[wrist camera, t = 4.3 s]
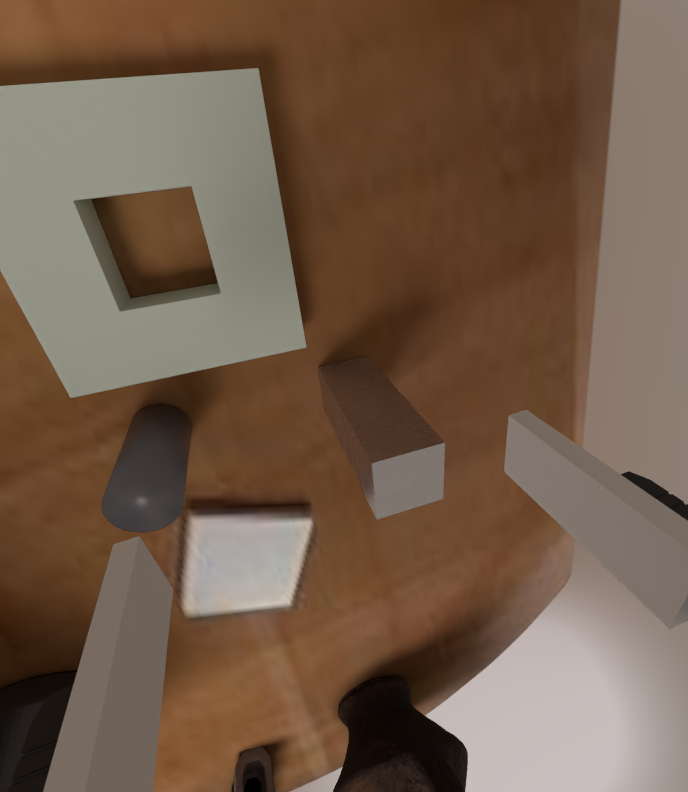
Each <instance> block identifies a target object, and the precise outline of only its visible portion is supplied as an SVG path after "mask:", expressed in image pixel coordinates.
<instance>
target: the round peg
mask: <svg viewBox="0 0 688 792" xmlns="http://www.w3.org/2000/svg"><path fill="white" fill-rule="evenodd" d="M190 438H191V422H190V420H189V418H188V416H187V415H186V414H185V413H184V412H183V411H182V410H180V409H179V408H177V407H175V406H172V405H168V404H153V405H149V406H146V407H144V408H142V409H141V410H139V411H138V412H137V413H136V414H135V415H134V417H133V419H132V421H131V424H130V427H129V429H128V432H127V435H126V437H125V440H124V443H123V445H122V448H121V451H120V453H119V456H118V459H117V462H116V464H115V467H114V470H113V472H112V475H111V478H110V480H109V483H108V486H107V488H106V491H105V494H104V497H103V500H102V511H103V514H104V516H105V517H106V519H107V520H108V521H109V522H110V523H112V524H113V525H115V526H116V527H118V528H121V529H123V530H126V531H131V532H150V531H155V530H159V529H161V528H164V527H166V526H168V525H169V524H171V523H172V522H174V521H175V520H176V519H177V517H178V516H179V515H180V513H181V511H182V508H183V502H184V493H185V484H186V474H187V465H188V456H189V447H190Z"/></svg>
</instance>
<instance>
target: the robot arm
mask: <svg viewBox="0 0 688 792" xmlns="http://www.w3.org/2000/svg"><path fill="white" fill-rule="evenodd" d="M504 472H505V473H506V474H507V475H508V476H509V477H511V478H512V479H513V480H514V481H515V482H516V483H517V484H518V485H519V486H520V487H521V488H522V489H523V490H524V491H525V492H526V493H527V494H528V495H529V496H530V497H531V498H533V499H534V500H535V501H536V502H537V503H538V504H539V505H540V506H541V507H542V508H543V509H544V510H545V511H546V512H547V513H548V514H549V515H550V516H551V517H552V518H553V519H555V520H556V521H557V522H558V523H559V524H560V525H561V526H562V527H563V528H564V529H565V530H566V531H567V532H568V533H569V534H570V535H571V536H572V537H573V538H574V539H576V540H577V541H578V542H579V543H580V544H581V545H582V546H583V547H584V548H585V549H586V550H587V551H588V552H589V553H590V554H591V555H592V556H593V557H594V558H595V559H597V560H598V561H599V562H600V563H601V564H602V565H603V566H604V567H605V568H606V569H607V570H608V571H609V572H610V573H611V574H612V575H613V576H614V577H615V578H616V579H617V580H618V581H620V582H621V583H622V584H623V585H624V586H625V587H626V588H627V589H628V590H629V591H630V592H631V593H632V594H633V595H634V596H635V597H636V598H637V599H638V600H639V601H640V602H642V603H643V604H644V605H645V606H646V607H647V608H648V609H649V610H650V611H651V612H652V613H653V614H654V615H655V616H656V617H657V618H658V619H659V620H661V621H662V622H663V623H664V624H665V625H666V626H667V627H668V628H669V629H671V628H673V627H675V626H677V625H679V624H681V623H683V622H686V621H688V504H687V505H685V504H684V502H683V501H681V500H680V499H679V498H677V497H675V496H674V495H673V494H671V495H670V494H669V493H668V491H666V490H665V489H663V488H662V487H660V486H659V485H657V484H656V483H654V482H653V481H651V480H649V479H647V478H644V477H642V476H639V475H637V474H634V473H631V472H626V473H624V474H621V475H620V474H619V473H618V472H616V471H615V470H613V469H612V468H610V467H609V466H607V465H606V464H604V463H603V462H602V461H600V460H599V459H597V458H596V457H594V456H593V455H591V454H590V453H588V452H587V451H586V450H584V449H583V448H581V447H580V446H578V445H577V444H576V443H574V442H573V441H571V440H570V439H568V438H567V437H565V436H564V435H562V434H561V433H560V432H558V431H557V430H555V429H554V428H552V427H551V426H549V425H548V424H547V423H545V422H544V421H542V420H541V419H539V418H538V417H536V416H535V415H533V414H532V413H531V412H529V411H528V410H524V411H521V412H518V413H515V414H512V415H509V419H508V430H507V442H506V454H505V466H504ZM172 596H173V588H172V586H171V585H170V583H169V582H168V580H167V579H166V577H165V575H164V574H163V572H162V571H161V569H160V567H159V566H158V564H157V563H156V561H155V560H154V558H153V556H152V555H151V553H150V552H149V550H148V549H147V547H146V545H145V544H144V542H143V541H142V539H141V538H140V536H138V537H135V538H132V539H129V540H125V541H122V542H119V543H116V544H113V547H112V551H111V554H110V558H109V561H108V565H107V568H106V572H105V575H104V579H103V582H102V586H101V589H100V593H99V596H98V600H97V604H96V607H95V611H94V614H93V618H92V621H91V625H90V628H89V632H88V635H87V639H86V642H85V646H84V649H83V653H82V656H81V660H80V663H79V667H78V670H77V672H71V673H60V674H53V675H47V676H42V677H37V678H33V679H30V680H26V681H23V682H20V683H17V684H14V685H12V686H9V687H7V688H5V689H2V690H0V792H153V785H154V775H155V765H156V755H157V745H158V735H159V726H160V716H161V706H162V696H163V686H164V676H165V666H166V656H167V646H168V636H169V626H170V616H171V606H172Z"/></svg>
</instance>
